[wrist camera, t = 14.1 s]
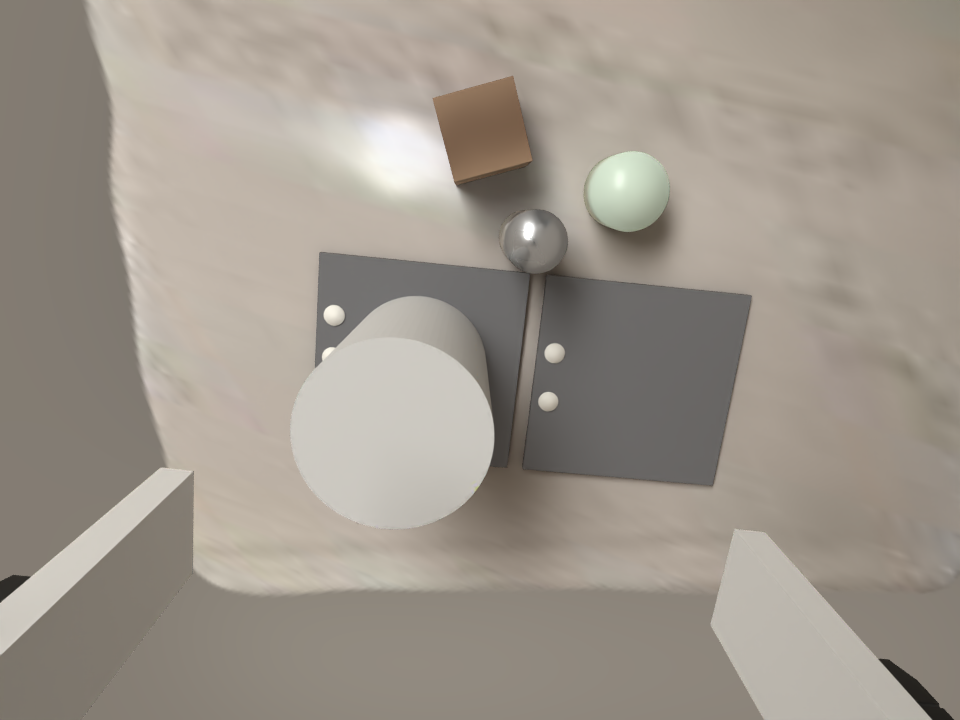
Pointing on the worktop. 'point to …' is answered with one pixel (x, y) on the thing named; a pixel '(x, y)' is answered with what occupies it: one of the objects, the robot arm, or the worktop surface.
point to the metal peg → (533, 240)
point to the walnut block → (483, 130)
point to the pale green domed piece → (627, 191)
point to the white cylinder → (397, 417)
